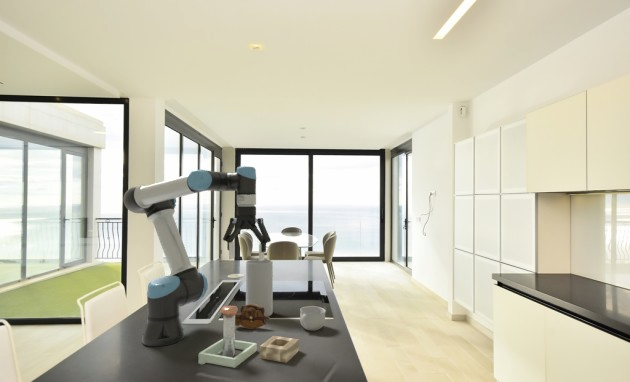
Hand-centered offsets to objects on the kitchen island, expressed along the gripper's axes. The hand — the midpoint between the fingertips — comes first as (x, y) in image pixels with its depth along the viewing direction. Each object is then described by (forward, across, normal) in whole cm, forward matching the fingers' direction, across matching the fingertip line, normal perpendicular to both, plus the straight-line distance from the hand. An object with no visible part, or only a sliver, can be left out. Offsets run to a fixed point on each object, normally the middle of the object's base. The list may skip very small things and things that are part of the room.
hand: (246, 259), depth 145 cm
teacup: (+31, +20, +18) cm, 41 cm away
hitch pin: (+30, +4, -18) cm, 35 cm away
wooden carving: (+31, -4, +10) cm, 33 cm away
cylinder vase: (+31, -10, +28) cm, 43 cm away
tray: (+31, +4, -18) cm, 36 cm away
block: (+31, +20, -11) cm, 38 cm away
